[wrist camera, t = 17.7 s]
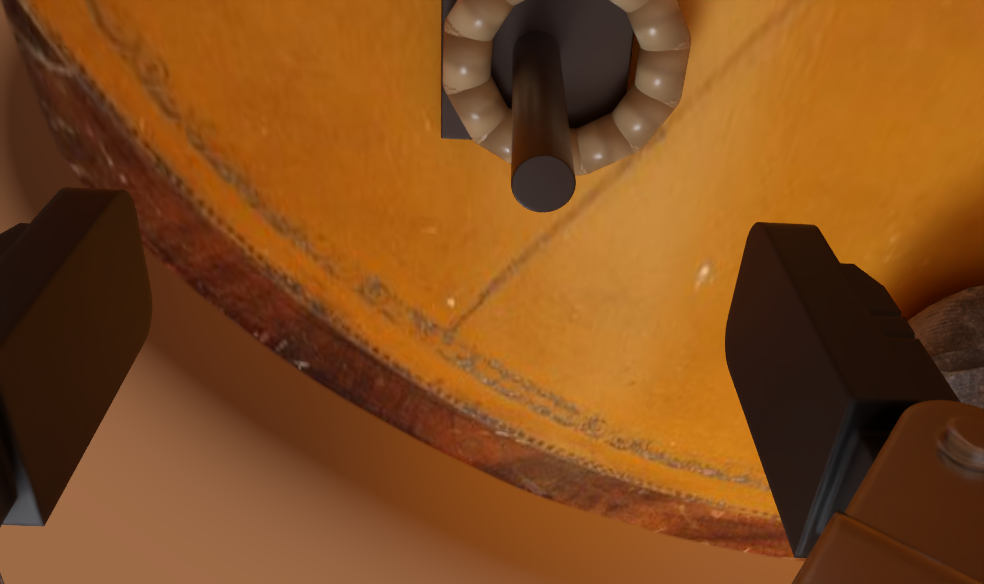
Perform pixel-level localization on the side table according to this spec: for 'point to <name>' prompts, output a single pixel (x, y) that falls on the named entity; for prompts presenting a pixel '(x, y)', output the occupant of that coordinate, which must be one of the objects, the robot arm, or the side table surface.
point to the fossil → (956, 341)
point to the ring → (594, 143)
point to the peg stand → (551, 87)
